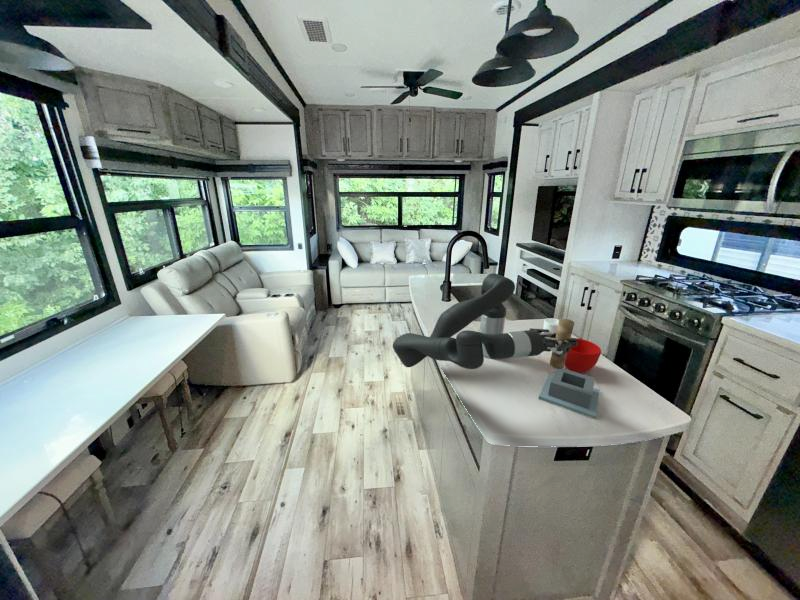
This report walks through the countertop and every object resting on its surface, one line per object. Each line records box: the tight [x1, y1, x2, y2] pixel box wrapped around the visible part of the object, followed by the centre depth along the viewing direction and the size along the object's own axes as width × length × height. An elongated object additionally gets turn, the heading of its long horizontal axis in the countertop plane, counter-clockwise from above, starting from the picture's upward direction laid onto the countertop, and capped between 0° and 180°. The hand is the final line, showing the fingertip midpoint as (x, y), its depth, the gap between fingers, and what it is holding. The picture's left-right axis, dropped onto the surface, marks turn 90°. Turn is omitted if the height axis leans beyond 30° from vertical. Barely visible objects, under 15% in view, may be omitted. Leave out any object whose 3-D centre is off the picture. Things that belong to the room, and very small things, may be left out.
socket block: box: [538, 368, 601, 420], centre depth 101 cm, size 16×16×6 cm
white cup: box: [542, 317, 559, 333], centre depth 137 cm, size 8×8×10 cm
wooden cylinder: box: [549, 318, 575, 370], centre depth 93 cm, size 4×4×15 cm
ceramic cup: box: [564, 337, 602, 374], centre depth 118 cm, size 13×17×10 cm
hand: (570, 338), depth 93 cm, fingers closed on wooden cylinder, 4 cm apart
